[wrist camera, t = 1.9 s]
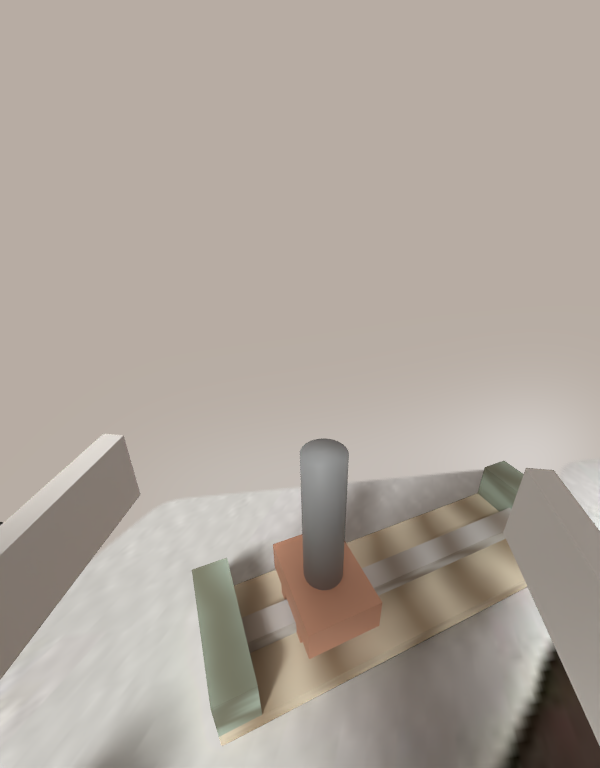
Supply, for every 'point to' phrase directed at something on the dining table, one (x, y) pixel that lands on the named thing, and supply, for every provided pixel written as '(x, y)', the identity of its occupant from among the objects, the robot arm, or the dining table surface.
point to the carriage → (325, 557)
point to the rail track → (395, 613)
